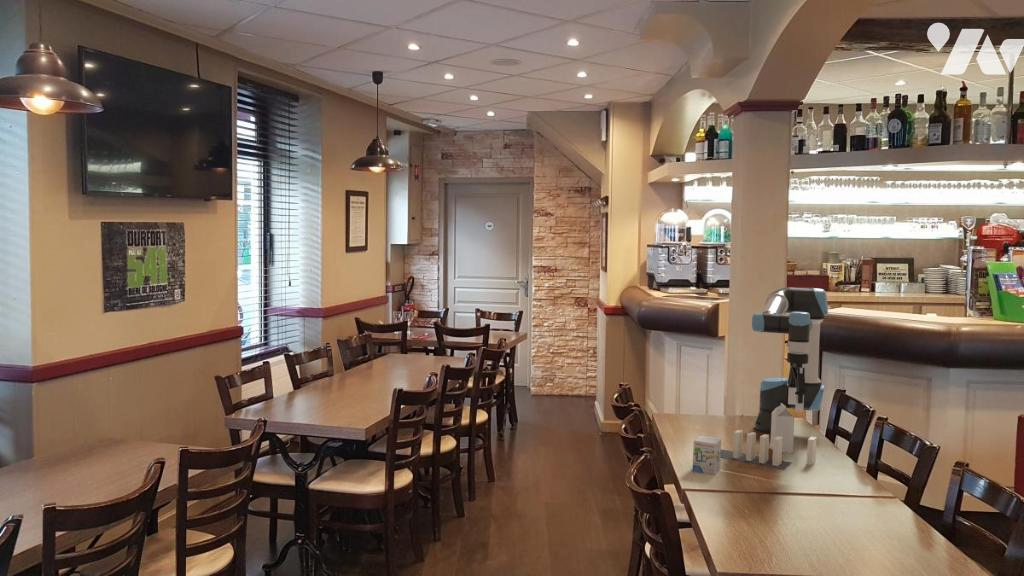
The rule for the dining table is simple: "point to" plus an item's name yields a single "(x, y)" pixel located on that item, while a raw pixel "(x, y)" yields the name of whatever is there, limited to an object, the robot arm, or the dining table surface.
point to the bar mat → (729, 455)
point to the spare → (811, 450)
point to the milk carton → (782, 428)
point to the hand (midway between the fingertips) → (795, 407)
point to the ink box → (706, 455)
